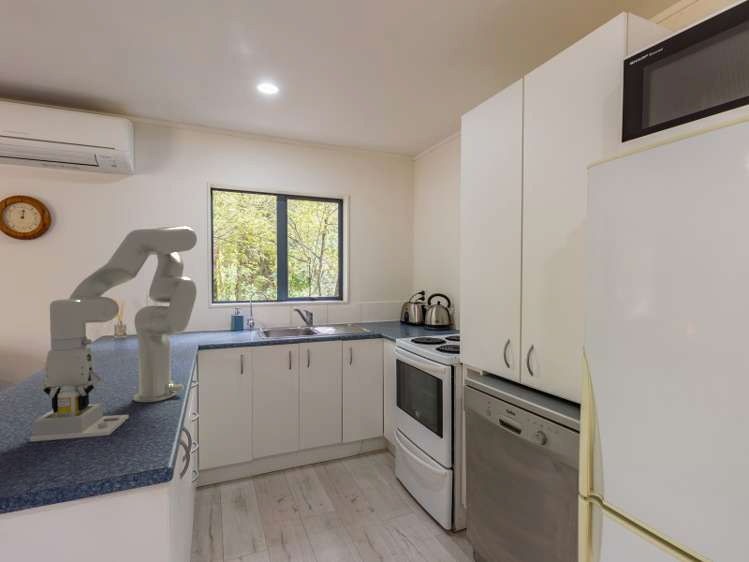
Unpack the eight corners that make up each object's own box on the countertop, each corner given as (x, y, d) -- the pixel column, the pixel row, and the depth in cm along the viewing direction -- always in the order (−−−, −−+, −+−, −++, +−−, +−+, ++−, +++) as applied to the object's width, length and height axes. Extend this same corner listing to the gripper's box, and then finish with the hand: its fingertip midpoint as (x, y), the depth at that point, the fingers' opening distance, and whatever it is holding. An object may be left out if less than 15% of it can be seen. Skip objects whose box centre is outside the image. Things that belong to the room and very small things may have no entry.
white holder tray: (128, 417, 111) (128, 401, 111) (108, 435, 100) (108, 416, 100) (58, 423, 108) (58, 405, 108) (29, 441, 96) (29, 422, 96)
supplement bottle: (60, 424, 99) (59, 388, 99) (56, 418, 103) (55, 384, 103) (85, 417, 104) (84, 383, 103) (80, 413, 107) (79, 379, 107)
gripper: (110, 340, 108) (112, 402, 109) (41, 343, 104) (43, 407, 105) (97, 345, 101) (99, 412, 101) (22, 348, 97) (24, 417, 98)
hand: (70, 409), depth 103 cm, fingers closed on supplement bottle, 5 cm apart
